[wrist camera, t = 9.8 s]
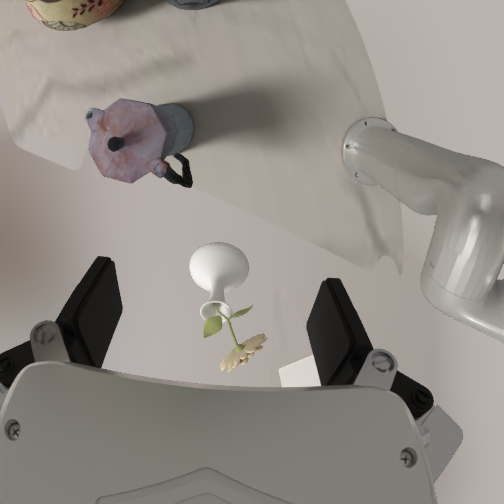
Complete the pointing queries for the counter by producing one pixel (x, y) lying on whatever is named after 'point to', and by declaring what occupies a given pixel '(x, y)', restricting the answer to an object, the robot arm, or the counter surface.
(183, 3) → the carafe
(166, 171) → the moka pot
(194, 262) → the flower in vase
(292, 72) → the counter surface
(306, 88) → the counter surface
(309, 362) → the milk
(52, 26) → the ceramic jug
